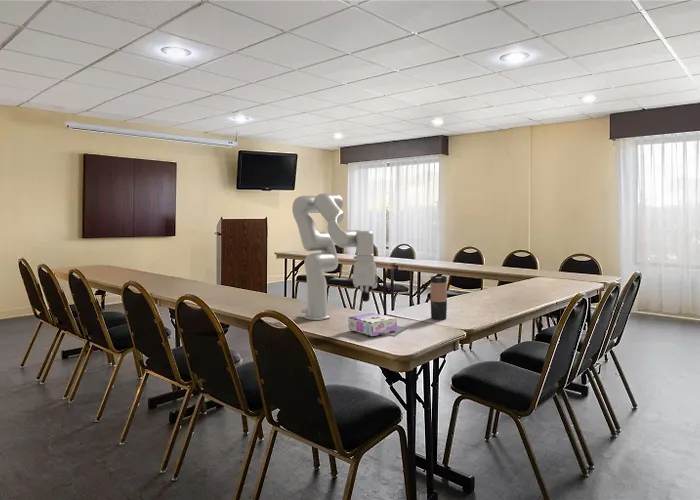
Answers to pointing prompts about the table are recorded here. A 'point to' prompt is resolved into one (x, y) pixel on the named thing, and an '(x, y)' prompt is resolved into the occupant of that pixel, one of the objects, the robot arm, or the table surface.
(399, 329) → the mat
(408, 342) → the table surface
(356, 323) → the candy box
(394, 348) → the table surface
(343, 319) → the table surface
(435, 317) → the travel mug
